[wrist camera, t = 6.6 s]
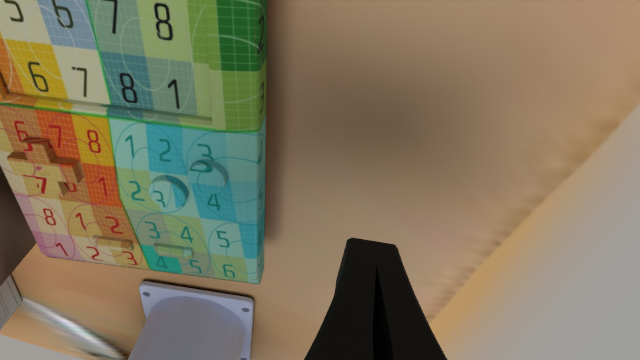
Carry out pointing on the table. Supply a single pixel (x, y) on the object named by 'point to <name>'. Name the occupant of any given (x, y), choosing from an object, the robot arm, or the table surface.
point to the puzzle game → (138, 131)
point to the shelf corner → (12, 231)
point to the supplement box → (8, 300)
